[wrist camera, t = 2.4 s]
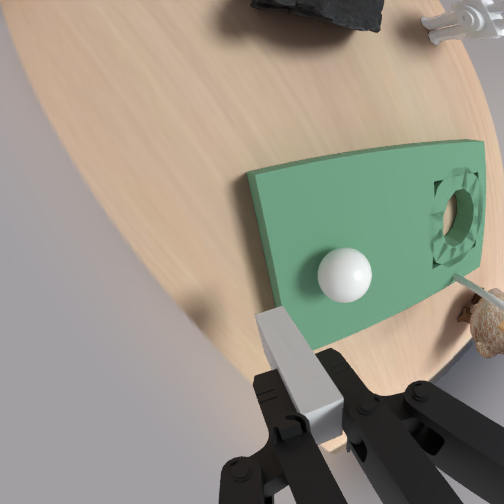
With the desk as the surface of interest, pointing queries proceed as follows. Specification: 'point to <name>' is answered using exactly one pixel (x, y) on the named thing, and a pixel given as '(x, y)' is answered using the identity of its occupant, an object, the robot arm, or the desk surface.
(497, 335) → the figurine
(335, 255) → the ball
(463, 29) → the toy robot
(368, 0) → the rock
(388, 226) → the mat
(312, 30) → the desk surface
